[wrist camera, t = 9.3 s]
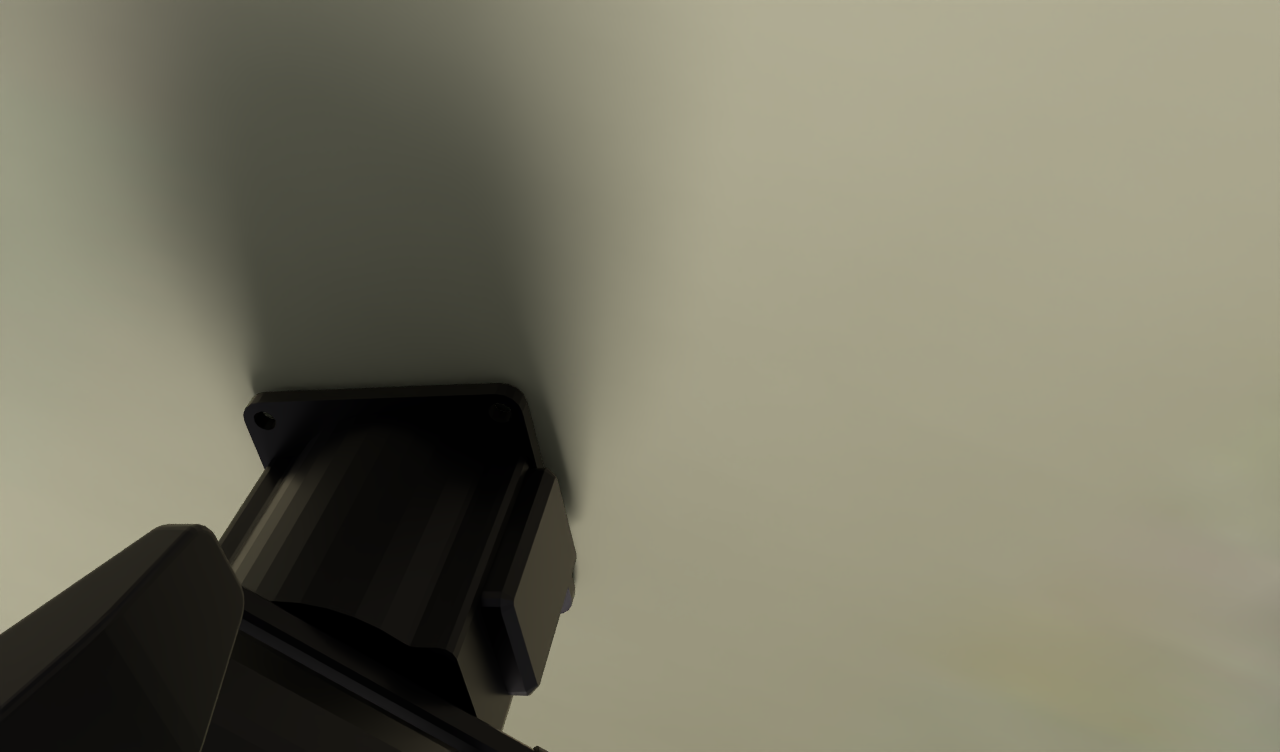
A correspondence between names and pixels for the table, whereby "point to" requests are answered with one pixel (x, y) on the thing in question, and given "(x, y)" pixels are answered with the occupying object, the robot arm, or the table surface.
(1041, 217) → the table surface
